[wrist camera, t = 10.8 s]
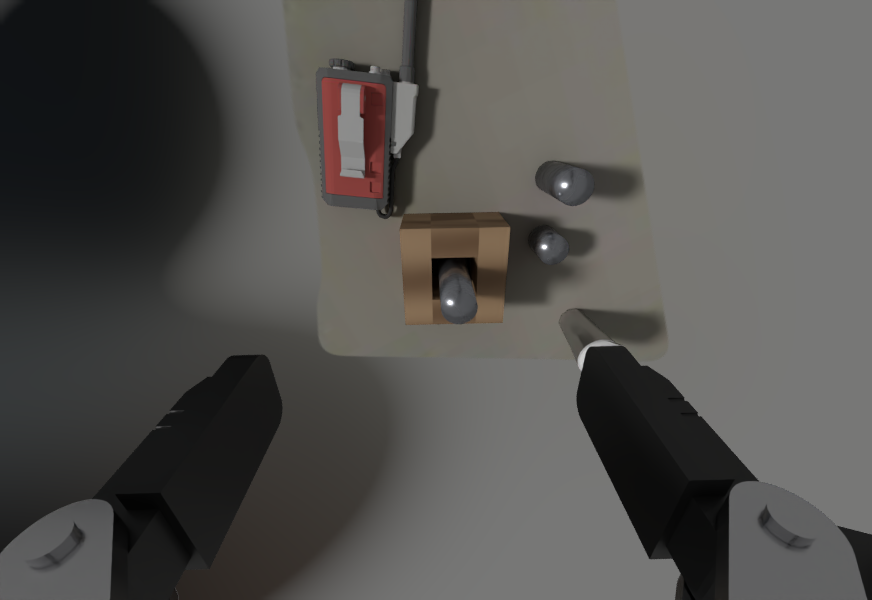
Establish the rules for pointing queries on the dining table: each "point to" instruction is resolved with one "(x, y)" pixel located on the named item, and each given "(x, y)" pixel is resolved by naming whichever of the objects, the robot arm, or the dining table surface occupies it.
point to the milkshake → (582, 334)
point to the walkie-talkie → (365, 126)
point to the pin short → (548, 244)
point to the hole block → (454, 239)
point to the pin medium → (565, 182)
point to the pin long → (456, 291)
